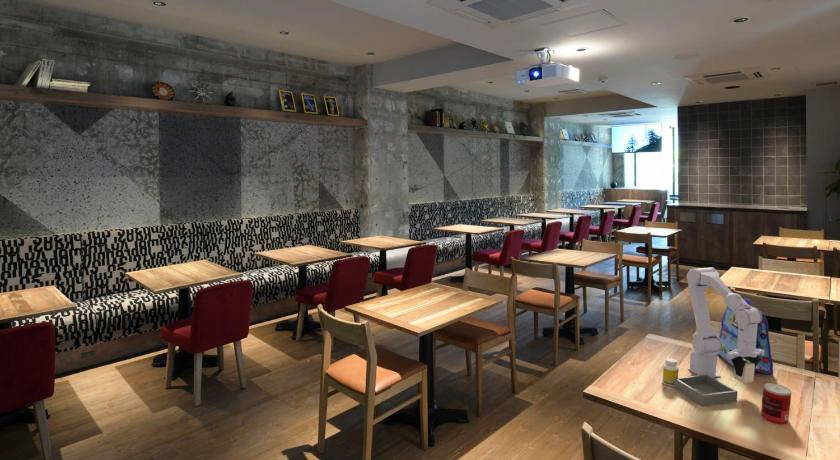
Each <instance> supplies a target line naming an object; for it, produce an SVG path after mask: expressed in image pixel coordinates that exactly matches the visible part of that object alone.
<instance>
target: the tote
mask: <svg viewBox="0 0 840 460" xmlns="http://www.w3.org/2000/svg"><path fill="white" fill-rule="evenodd" d="M673 389H674V390H676V391H677V392H679V393H681V394H683V395H684V396H686V397H687V398H688V399H690V400H692V402H695V403H696V404H698V405H700V406H701V407H707V406H713V405H715V406H716V405H721V404H729V403H737V401H738V390H736V389H734V388H733V387H731V386H729V385H727V384H725V383H723V382H722V381H719V380H717V379H716V378H715V377H714V378H712V377H711V376H709V375H707V374H705V375H697V374H696V375H691V376H681V377H678V378H674V386H673Z"/></svg>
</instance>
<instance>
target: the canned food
mask: <svg viewBox="0 0 840 460" xmlns="http://www.w3.org/2000/svg"><path fill="white" fill-rule="evenodd" d="M791 398H792V390H791V389H790V388H788V386H785V385H782V384H778V383H772V382H771V383H765V384H763V388H762V400H761V409H760V410H761V412H760V413H761V416H762V419H764V420H766V421H767V422H770V423H772V424H776V425H786V424H788V422H789V419H790V410H791V400H792V399H791Z"/></svg>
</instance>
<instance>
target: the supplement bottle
mask: <svg viewBox="0 0 840 460" xmlns="http://www.w3.org/2000/svg"><path fill="white" fill-rule="evenodd" d="M679 370H680V369H679V366H678V360H677V359H676V358H672V357H667V358H666V359H665V363H663V367H662V379H661V380H662V384H664V385H665V386H669V387H674V378H679Z"/></svg>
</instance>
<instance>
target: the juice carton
mask: <svg viewBox="0 0 840 460" xmlns="http://www.w3.org/2000/svg"><path fill="white" fill-rule="evenodd" d="M743 360H745V359H743ZM745 361H747V362H746V363H745V365H744V368H743V374H742V376H741V377H740V376H738V375H736V373H735V369H734V370H733V371H734V372H733V378H734V379H736V380H738V381H740V382H741V383H743V384H748V383H754V377H755V372H754V368H755V364H754V363H752V362H750V361H749V360H745Z"/></svg>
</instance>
